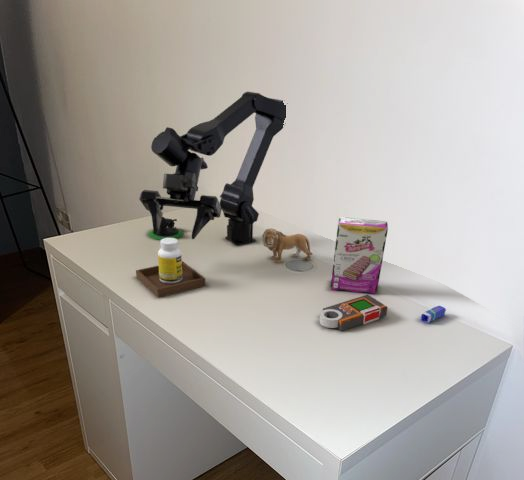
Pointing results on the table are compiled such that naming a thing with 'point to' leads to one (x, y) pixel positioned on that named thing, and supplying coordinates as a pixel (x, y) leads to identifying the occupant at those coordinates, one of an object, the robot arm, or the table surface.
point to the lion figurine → (285, 243)
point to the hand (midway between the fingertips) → (173, 236)
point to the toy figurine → (166, 230)
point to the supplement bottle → (170, 261)
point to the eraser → (433, 314)
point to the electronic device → (352, 313)
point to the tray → (160, 289)
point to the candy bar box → (358, 254)
